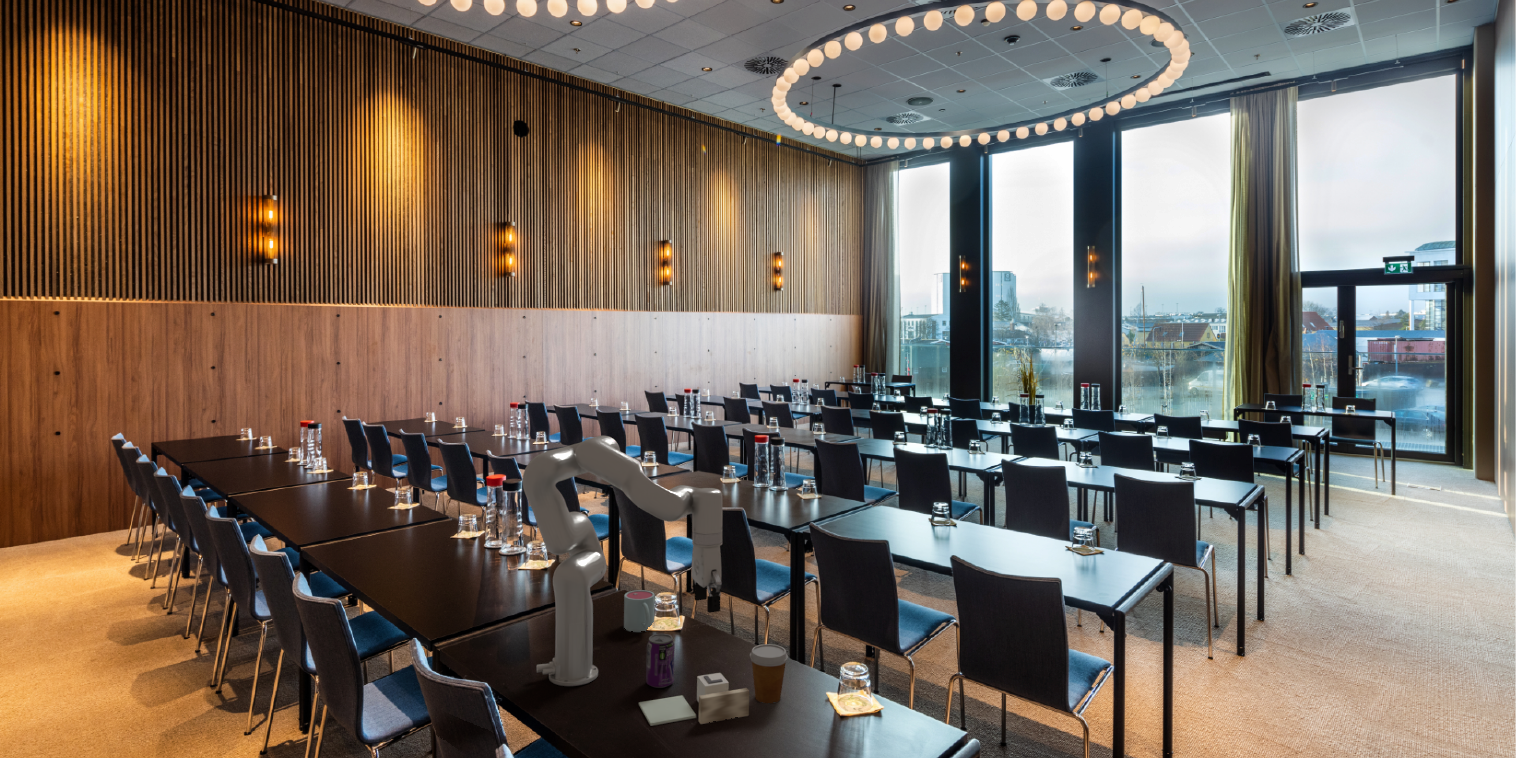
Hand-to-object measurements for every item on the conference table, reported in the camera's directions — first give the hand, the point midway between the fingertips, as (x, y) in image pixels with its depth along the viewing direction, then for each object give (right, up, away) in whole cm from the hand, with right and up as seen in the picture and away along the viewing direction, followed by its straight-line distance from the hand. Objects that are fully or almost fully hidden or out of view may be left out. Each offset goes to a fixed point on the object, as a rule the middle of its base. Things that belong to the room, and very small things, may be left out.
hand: (707, 605), depth 192 cm
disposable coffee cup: (+15, -23, -1) cm, 28 cm away
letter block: (+2, -23, -5) cm, 23 cm away
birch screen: (+5, -23, -12) cm, 26 cm away
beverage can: (-13, -22, +5) cm, 26 cm away
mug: (-23, -20, +43) cm, 53 cm away
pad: (-9, -23, -9) cm, 26 cm away
